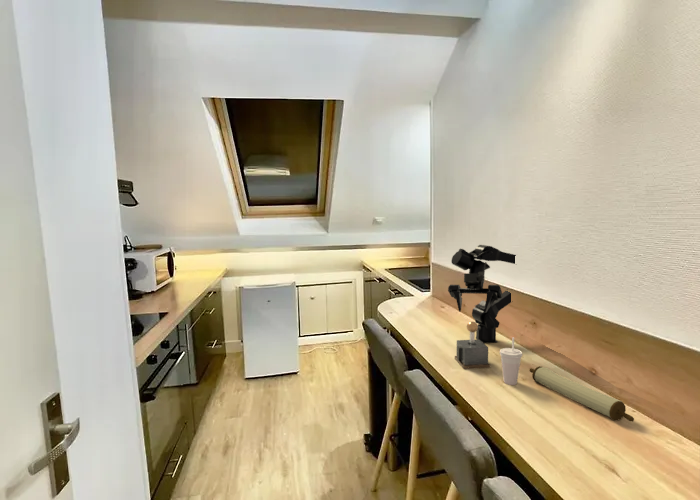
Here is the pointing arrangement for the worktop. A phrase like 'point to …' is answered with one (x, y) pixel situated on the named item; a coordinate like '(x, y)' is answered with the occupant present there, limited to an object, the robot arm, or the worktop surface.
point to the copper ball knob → (472, 331)
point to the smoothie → (510, 364)
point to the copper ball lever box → (472, 354)
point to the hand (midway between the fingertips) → (472, 311)
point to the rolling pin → (581, 393)
